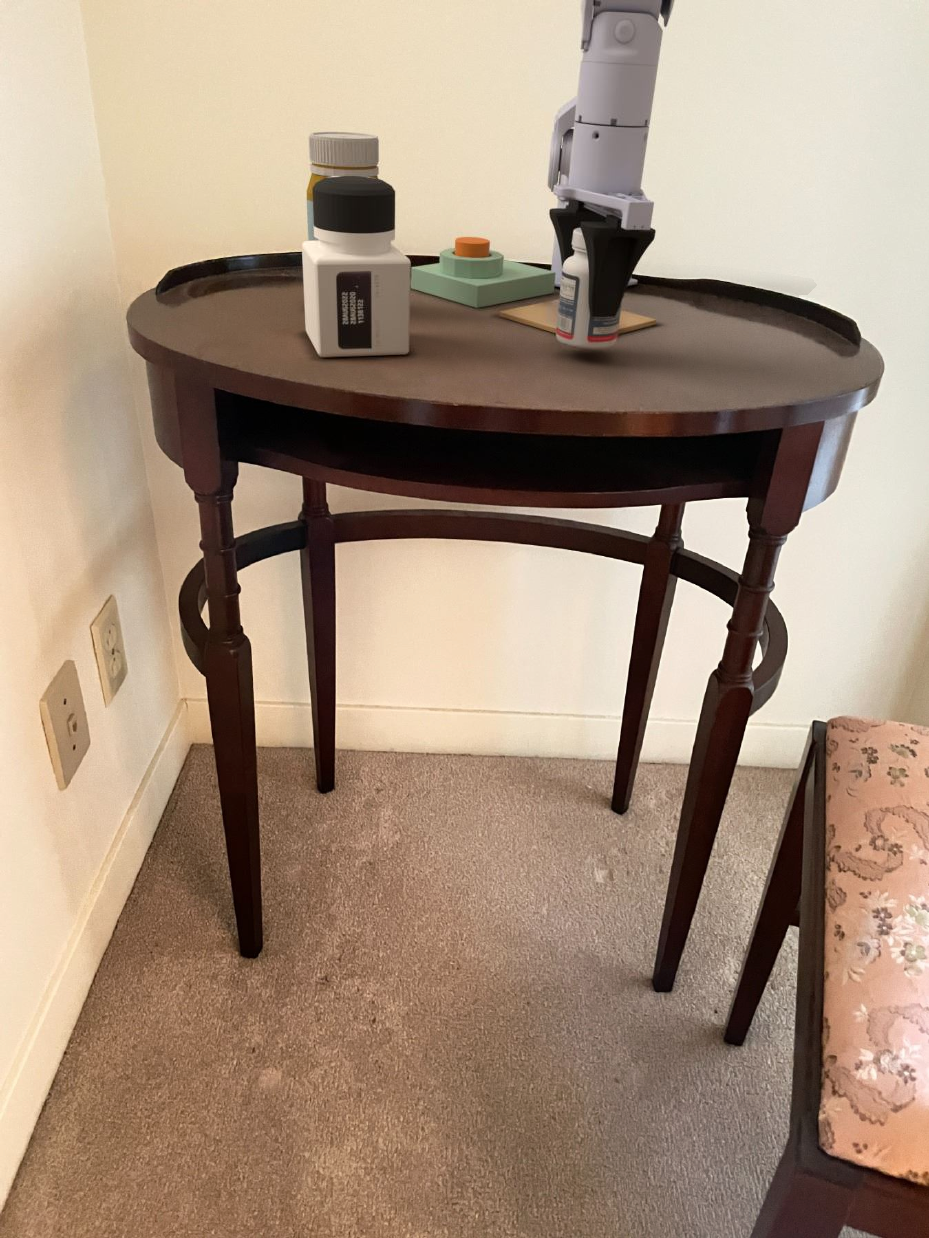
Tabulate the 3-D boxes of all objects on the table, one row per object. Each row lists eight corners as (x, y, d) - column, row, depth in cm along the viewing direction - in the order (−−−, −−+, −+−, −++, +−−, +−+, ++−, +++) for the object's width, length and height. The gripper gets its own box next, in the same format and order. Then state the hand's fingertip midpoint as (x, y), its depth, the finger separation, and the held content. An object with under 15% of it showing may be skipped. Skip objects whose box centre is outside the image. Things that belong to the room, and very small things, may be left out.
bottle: (371, 320, 84) (370, 141, 76) (301, 313, 85) (292, 135, 77) (391, 304, 90) (392, 135, 82) (325, 297, 91) (319, 129, 83)
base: (488, 275, 103) (490, 238, 101) (553, 293, 98) (557, 254, 95) (410, 288, 96) (411, 249, 94) (477, 308, 90) (479, 266, 88)
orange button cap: (471, 253, 96) (472, 235, 95) (495, 259, 94) (497, 241, 93) (447, 256, 94) (448, 238, 93) (471, 262, 92) (472, 244, 91)
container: (410, 355, 75) (413, 185, 68) (318, 359, 73) (311, 184, 66) (390, 331, 82) (391, 173, 75) (305, 333, 80) (297, 171, 73)
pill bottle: (621, 338, 79) (636, 230, 74) (609, 353, 75) (625, 240, 70) (563, 330, 80) (574, 223, 75) (548, 345, 76) (559, 232, 71)
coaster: (569, 301, 95) (570, 296, 94) (655, 324, 88) (656, 319, 88) (498, 316, 88) (499, 311, 88) (586, 342, 82) (586, 337, 81)
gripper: (532, 114, 73) (518, 286, 81) (598, 131, 62) (575, 331, 69) (612, 117, 75) (591, 286, 82) (691, 134, 63) (659, 329, 71)
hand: (589, 306), depth 76 cm, fingers closed on pill bottle, 5 cm apart
